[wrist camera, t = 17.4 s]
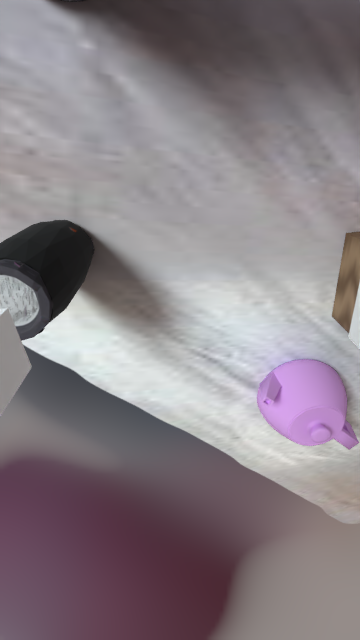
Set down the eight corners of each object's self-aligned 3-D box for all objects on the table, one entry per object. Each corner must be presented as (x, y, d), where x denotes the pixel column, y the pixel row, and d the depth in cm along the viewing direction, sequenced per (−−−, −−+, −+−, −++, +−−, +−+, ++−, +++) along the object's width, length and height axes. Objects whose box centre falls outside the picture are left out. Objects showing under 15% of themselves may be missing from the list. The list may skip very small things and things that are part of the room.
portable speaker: (70, 202, 42) (3, 236, 25) (110, 259, 46) (76, 323, 29) (21, 233, 44) (-72, 286, 26) (64, 286, 48) (7, 361, 31)
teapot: (363, 381, 59) (405, 430, 49) (307, 430, 66) (334, 484, 55) (277, 331, 53) (304, 376, 43) (224, 391, 59) (237, 442, 49)
